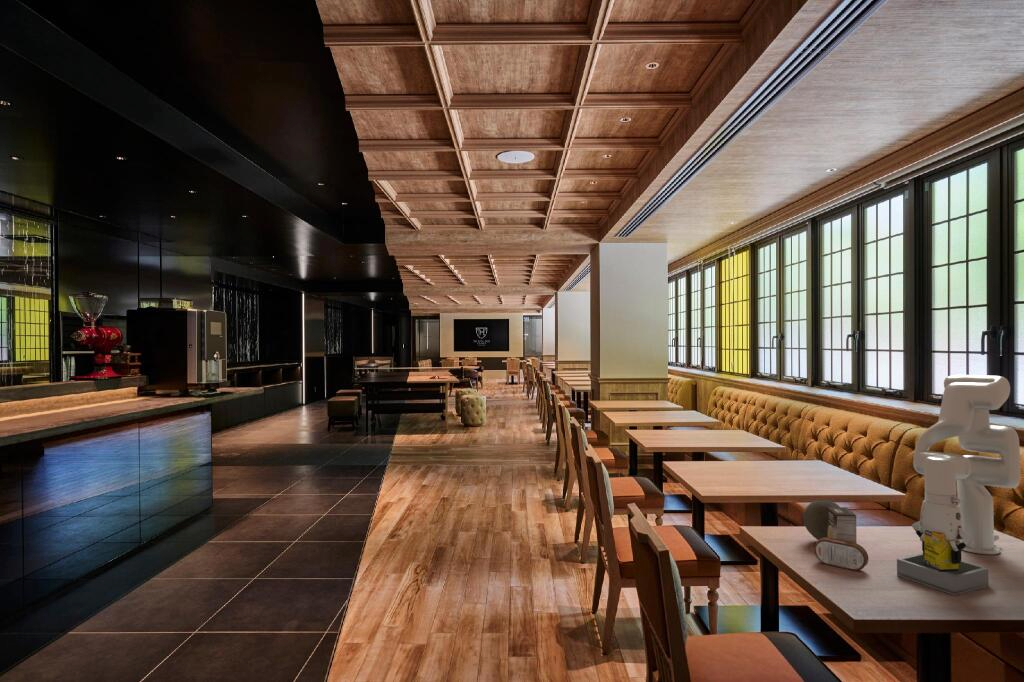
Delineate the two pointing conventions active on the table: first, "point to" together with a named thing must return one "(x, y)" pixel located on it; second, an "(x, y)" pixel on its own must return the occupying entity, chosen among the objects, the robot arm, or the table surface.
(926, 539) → the supplement box
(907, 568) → the tote
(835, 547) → the tin
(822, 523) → the smooth river stone
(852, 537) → the coffee box
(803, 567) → the table surface
